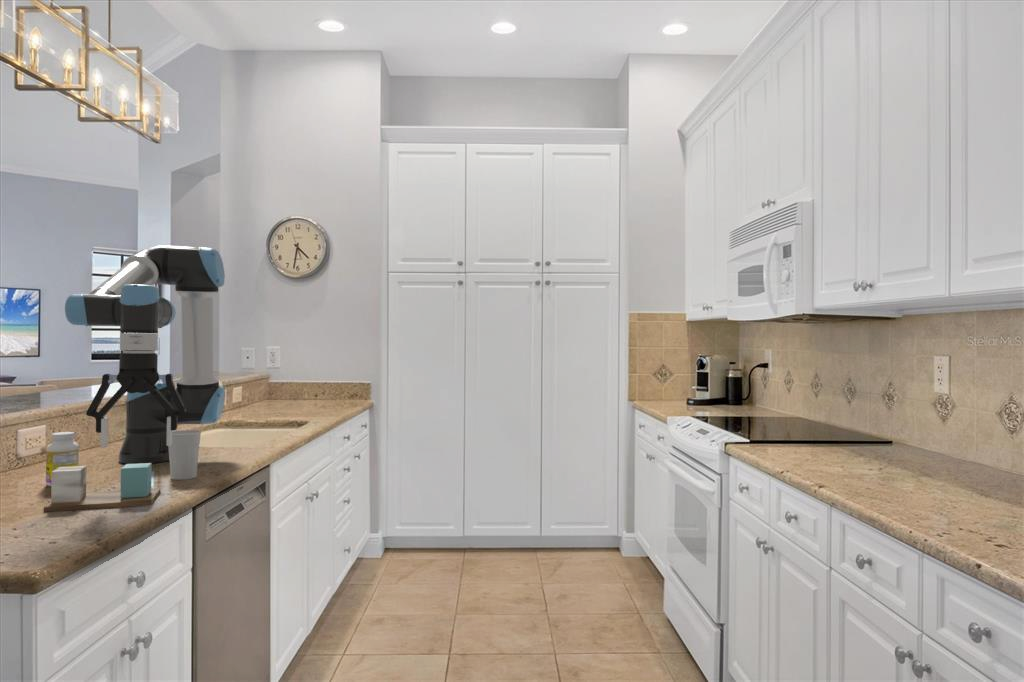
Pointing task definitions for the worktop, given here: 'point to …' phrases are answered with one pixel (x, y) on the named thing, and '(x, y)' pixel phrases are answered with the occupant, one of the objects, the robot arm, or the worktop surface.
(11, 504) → the worktop surface
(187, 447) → the cup
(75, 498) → the peg board
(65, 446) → the supplement bottle
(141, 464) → the turquoise rounded cube
